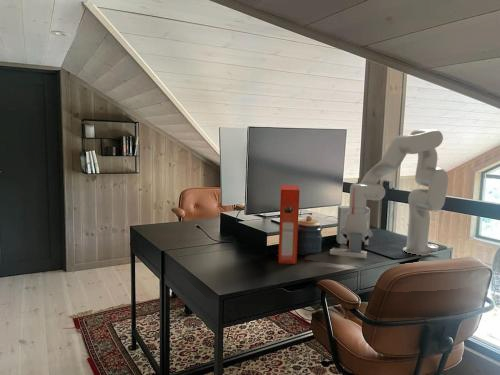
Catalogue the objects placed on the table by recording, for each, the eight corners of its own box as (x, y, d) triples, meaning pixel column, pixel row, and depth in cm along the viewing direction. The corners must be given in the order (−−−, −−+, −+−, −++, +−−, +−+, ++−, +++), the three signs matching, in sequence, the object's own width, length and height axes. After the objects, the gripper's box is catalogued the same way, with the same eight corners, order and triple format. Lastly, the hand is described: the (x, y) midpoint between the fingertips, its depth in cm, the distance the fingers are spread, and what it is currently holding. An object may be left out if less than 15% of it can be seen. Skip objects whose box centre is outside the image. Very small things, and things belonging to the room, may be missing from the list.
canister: (320, 257, 180) (322, 219, 178) (291, 254, 183) (293, 217, 181) (321, 249, 192) (323, 214, 190) (295, 247, 195) (297, 212, 193)
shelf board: (366, 254, 187) (367, 247, 186) (365, 261, 176) (366, 254, 175) (332, 250, 192) (333, 243, 191) (329, 257, 180) (330, 249, 180)
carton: (361, 250, 187) (362, 231, 186) (360, 254, 180) (361, 234, 179) (349, 248, 188) (350, 230, 187) (348, 252, 182) (349, 233, 181)
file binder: (277, 263, 169) (281, 189, 166) (277, 251, 186) (280, 184, 183) (296, 264, 169) (300, 190, 165) (295, 252, 186) (298, 185, 182)
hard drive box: (365, 244, 207) (368, 206, 204) (368, 248, 199) (371, 209, 197) (335, 242, 208) (338, 205, 206) (337, 246, 200) (339, 207, 198)
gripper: (376, 210, 183) (374, 248, 185) (339, 207, 188) (337, 244, 190) (376, 213, 176) (374, 252, 178) (337, 210, 181) (335, 248, 183)
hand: (355, 248), depth 184 cm, fingers closed on carton, 5 cm apart
